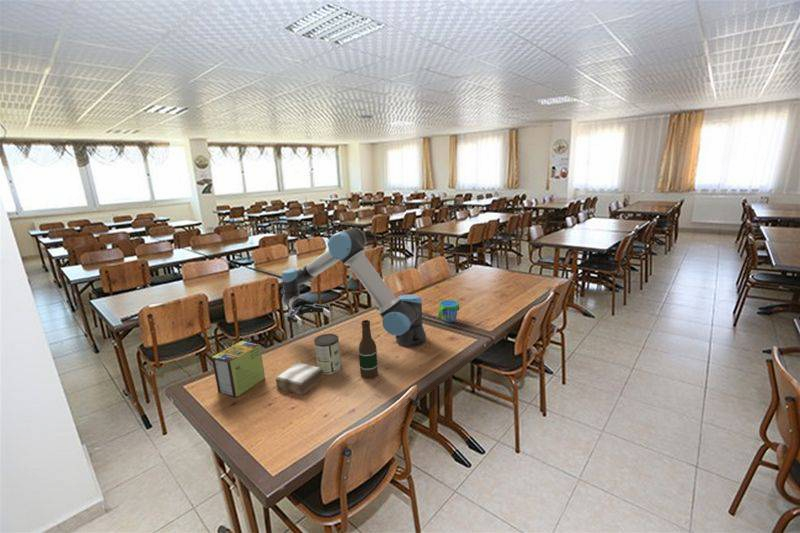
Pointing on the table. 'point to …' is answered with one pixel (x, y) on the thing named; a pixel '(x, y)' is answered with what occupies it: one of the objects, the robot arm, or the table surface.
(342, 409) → the table surface
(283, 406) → the table surface
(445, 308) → the snack cup
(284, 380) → the stand
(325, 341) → the coffee can
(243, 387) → the protein box
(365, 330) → the beer bottle
